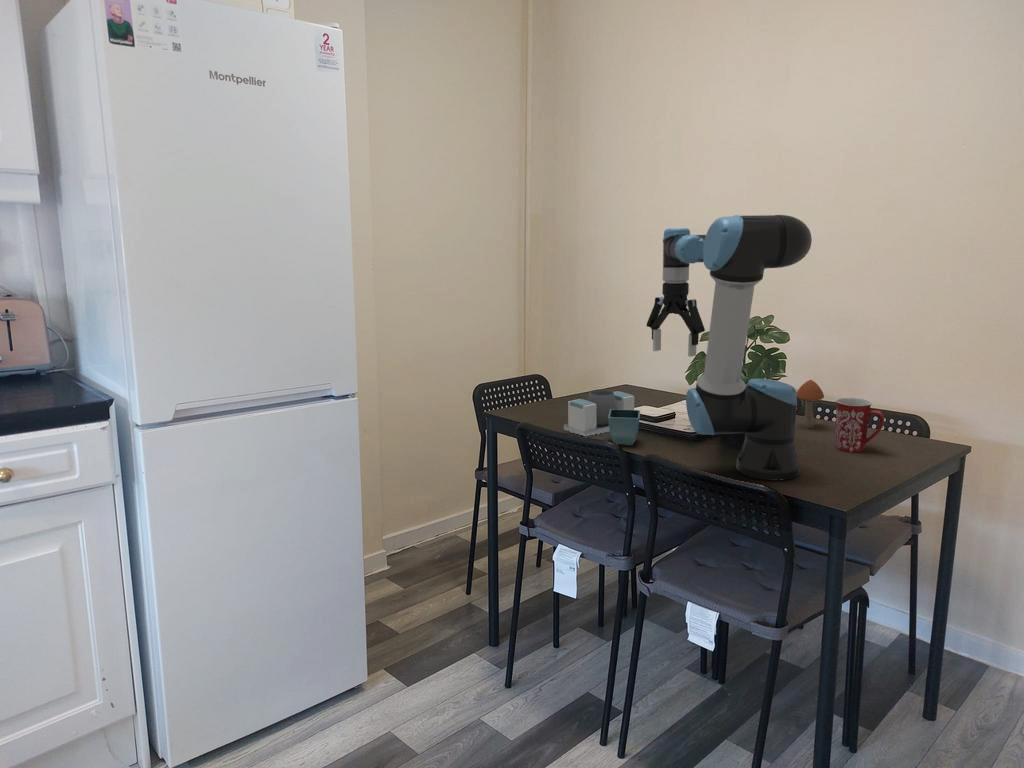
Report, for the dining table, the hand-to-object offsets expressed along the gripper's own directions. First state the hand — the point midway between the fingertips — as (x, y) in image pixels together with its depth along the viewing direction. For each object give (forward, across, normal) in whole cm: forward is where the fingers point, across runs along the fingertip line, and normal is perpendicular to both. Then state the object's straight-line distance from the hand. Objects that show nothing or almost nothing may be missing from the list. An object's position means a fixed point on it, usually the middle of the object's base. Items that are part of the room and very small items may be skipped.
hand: (674, 353), depth 212 cm
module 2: (+22, +15, +7) cm, 28 cm away
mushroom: (+24, -25, -32) cm, 47 cm away
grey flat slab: (+24, +16, +15) cm, 32 cm away
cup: (+22, +16, +15) cm, 31 cm away
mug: (+24, -45, -23) cm, 56 cm away
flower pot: (+24, 0, +21) cm, 32 cm away
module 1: (+22, +16, +22) cm, 36 cm away
